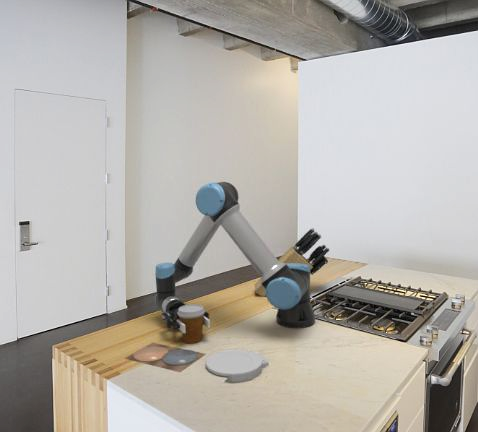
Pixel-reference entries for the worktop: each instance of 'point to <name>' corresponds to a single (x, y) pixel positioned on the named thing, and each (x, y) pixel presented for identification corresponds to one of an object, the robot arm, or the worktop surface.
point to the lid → (236, 364)
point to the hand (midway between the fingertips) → (196, 326)
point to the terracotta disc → (150, 354)
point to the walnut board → (161, 363)
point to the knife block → (296, 256)
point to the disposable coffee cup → (192, 322)
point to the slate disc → (179, 357)
